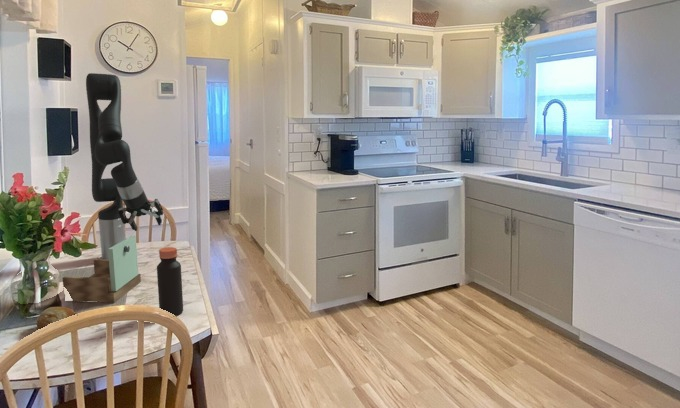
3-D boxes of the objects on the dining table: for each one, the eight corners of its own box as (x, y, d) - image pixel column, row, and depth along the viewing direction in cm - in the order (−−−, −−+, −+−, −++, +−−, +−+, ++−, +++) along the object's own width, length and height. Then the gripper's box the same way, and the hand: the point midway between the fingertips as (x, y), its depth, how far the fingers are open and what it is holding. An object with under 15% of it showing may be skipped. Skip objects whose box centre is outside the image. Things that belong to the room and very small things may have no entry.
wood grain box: (64, 301, 149) (62, 277, 148) (96, 280, 168) (94, 259, 166) (114, 302, 149) (112, 278, 147) (140, 281, 168) (139, 260, 166)
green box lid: (111, 291, 150) (107, 249, 147) (134, 274, 166) (131, 235, 163) (119, 291, 150) (115, 249, 147) (141, 274, 165) (138, 236, 163)
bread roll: (41, 337, 134) (24, 317, 130) (75, 313, 139) (60, 293, 135) (50, 349, 127) (32, 328, 123) (86, 324, 132) (70, 303, 128)
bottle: (157, 311, 143) (153, 248, 139) (179, 306, 147) (176, 245, 143) (162, 319, 138) (158, 254, 134) (186, 314, 141) (182, 250, 138)
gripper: (153, 181, 167) (167, 215, 177) (111, 190, 165) (129, 225, 175) (151, 193, 161) (167, 228, 172) (109, 203, 159) (127, 237, 170)
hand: (148, 226), depth 173 cm, fingers open, 8 cm apart
